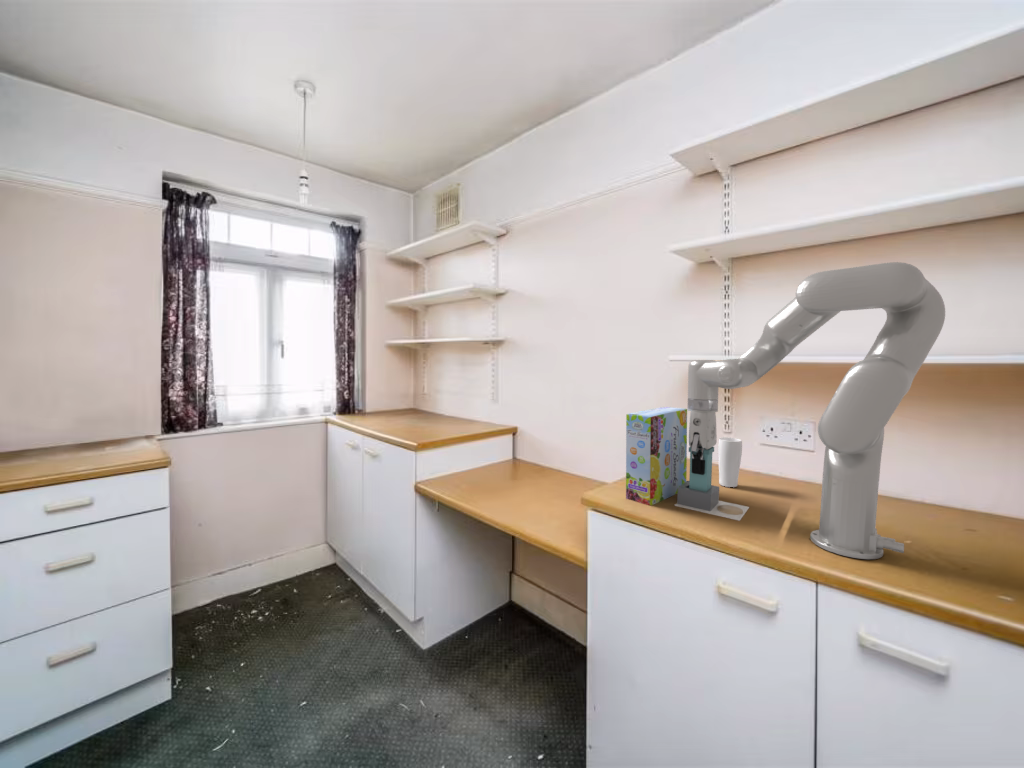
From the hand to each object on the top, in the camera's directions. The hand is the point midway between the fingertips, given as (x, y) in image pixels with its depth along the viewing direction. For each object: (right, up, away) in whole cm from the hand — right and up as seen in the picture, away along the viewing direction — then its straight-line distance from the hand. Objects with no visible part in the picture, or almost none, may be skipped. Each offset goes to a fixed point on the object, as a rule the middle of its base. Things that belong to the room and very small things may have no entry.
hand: (700, 471), depth 115 cm
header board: (+2, -10, -1) cm, 11 cm away
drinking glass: (+18, -9, +20) cm, 28 cm away
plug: (0, -5, 0) cm, 5 cm away
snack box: (-9, -10, +9) cm, 16 cm away
